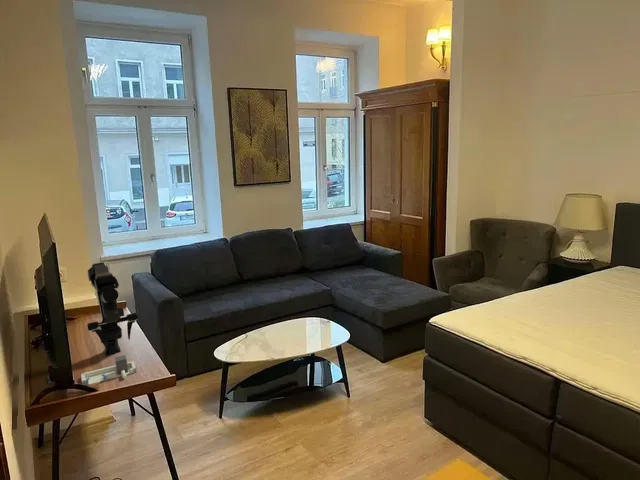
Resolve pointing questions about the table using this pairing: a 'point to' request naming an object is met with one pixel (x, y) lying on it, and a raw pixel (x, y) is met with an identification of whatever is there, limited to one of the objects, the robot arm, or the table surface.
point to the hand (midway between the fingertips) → (117, 342)
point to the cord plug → (121, 365)
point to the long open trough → (105, 374)
